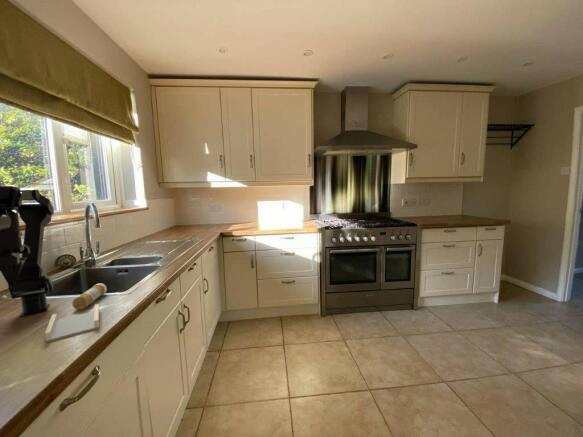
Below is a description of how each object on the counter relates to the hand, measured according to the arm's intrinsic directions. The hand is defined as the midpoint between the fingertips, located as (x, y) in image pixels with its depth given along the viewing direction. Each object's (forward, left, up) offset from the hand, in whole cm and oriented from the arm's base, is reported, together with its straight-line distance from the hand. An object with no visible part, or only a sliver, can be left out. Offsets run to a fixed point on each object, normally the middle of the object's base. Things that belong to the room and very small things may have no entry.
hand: (12, 285), depth 70 cm
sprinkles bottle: (-3, +14, -11) cm, 18 cm away
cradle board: (+8, +13, -13) cm, 20 cm away
